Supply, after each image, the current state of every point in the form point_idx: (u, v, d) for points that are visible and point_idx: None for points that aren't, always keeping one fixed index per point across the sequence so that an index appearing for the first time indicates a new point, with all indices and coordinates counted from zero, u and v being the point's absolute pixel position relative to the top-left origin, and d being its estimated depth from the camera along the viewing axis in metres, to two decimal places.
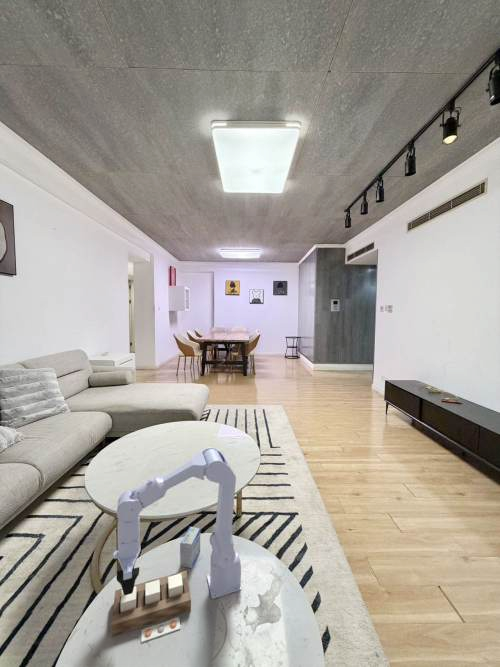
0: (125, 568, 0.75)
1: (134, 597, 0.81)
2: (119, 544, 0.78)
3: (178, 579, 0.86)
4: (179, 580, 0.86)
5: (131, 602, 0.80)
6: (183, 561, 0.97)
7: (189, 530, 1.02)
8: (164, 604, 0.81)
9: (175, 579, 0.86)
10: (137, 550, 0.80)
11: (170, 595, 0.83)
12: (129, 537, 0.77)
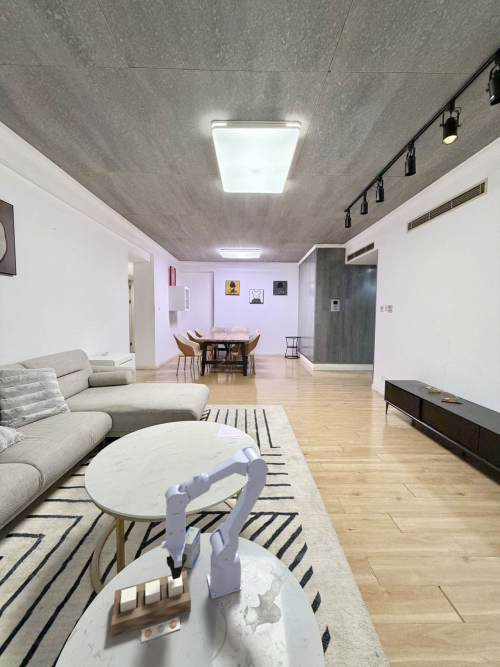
0: (175, 557, 0.80)
1: (134, 597, 0.81)
2: (168, 534, 0.82)
3: (178, 579, 0.86)
4: (179, 580, 0.86)
5: (131, 602, 0.80)
6: None
7: (189, 530, 1.02)
8: (164, 604, 0.81)
9: (175, 579, 0.86)
10: (184, 540, 0.84)
11: (170, 595, 0.83)
12: (177, 528, 0.82)
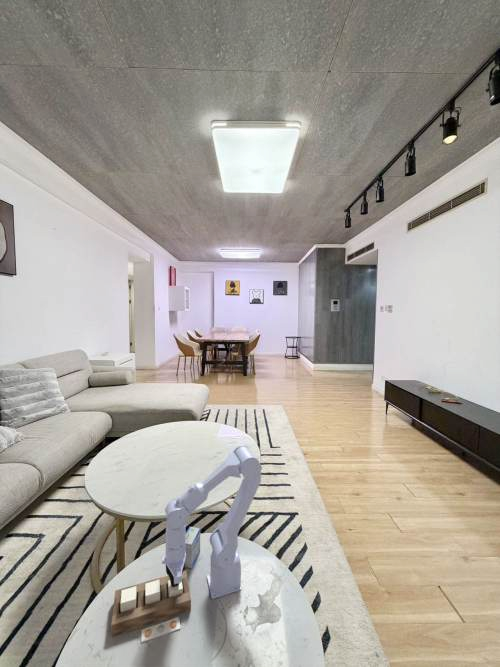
0: (175, 573, 0.80)
1: (134, 597, 0.81)
2: (167, 550, 0.83)
3: None
4: (179, 583, 0.86)
5: (131, 602, 0.80)
6: None
7: (189, 530, 1.02)
8: (164, 604, 0.81)
9: None
10: (183, 556, 0.84)
11: None
12: (177, 543, 0.82)
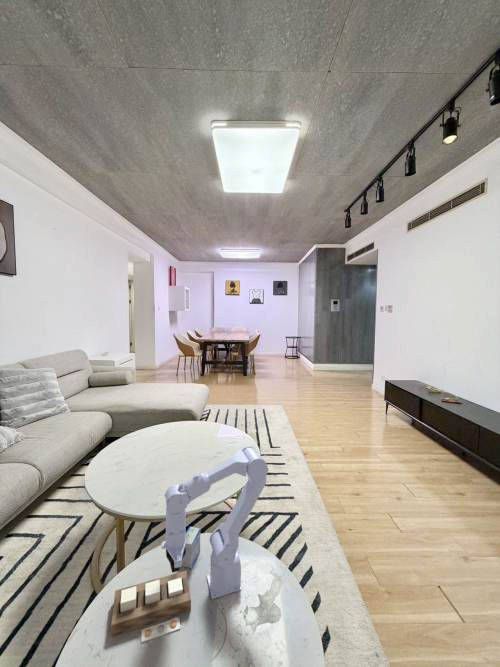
0: (175, 557, 0.80)
1: (134, 597, 0.81)
2: (168, 535, 0.82)
3: (178, 583, 0.86)
4: (179, 584, 0.86)
5: (131, 602, 0.80)
6: (183, 561, 0.97)
7: (189, 530, 1.02)
8: (164, 604, 0.81)
9: (175, 583, 0.86)
10: (184, 541, 0.84)
11: None
12: (177, 528, 0.82)
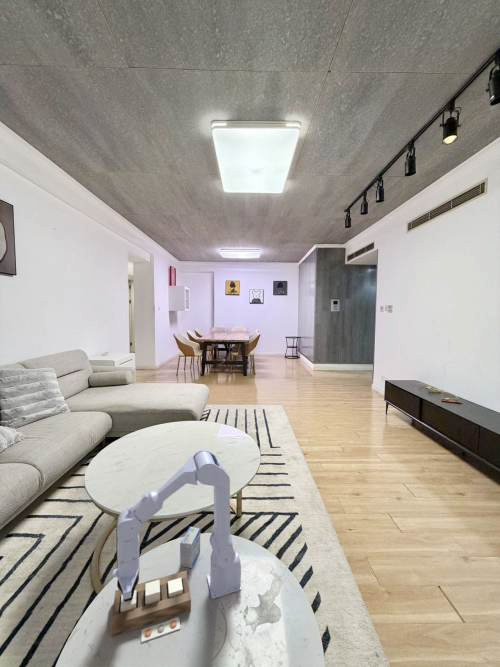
0: (124, 587, 0.76)
1: (134, 601, 0.81)
2: (119, 563, 0.78)
3: (178, 583, 0.86)
4: (179, 584, 0.86)
5: (131, 606, 0.80)
6: (183, 561, 0.97)
7: (189, 530, 1.02)
8: (164, 604, 0.81)
9: (175, 583, 0.86)
10: (136, 568, 0.80)
11: None
12: (129, 556, 0.78)
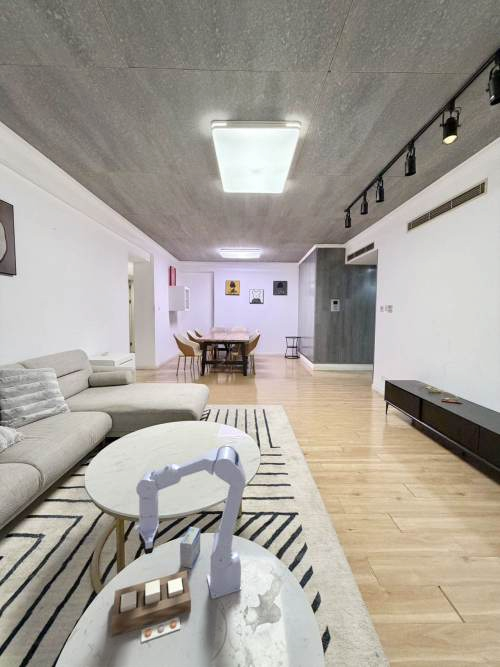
0: (146, 539, 0.85)
1: (134, 601, 0.81)
2: (140, 518, 0.87)
3: (178, 583, 0.86)
4: (179, 584, 0.86)
5: (131, 607, 0.80)
6: (183, 561, 0.97)
7: (189, 530, 1.02)
8: (164, 604, 0.81)
9: (175, 583, 0.86)
10: (156, 524, 0.89)
11: None
12: (146, 512, 0.86)
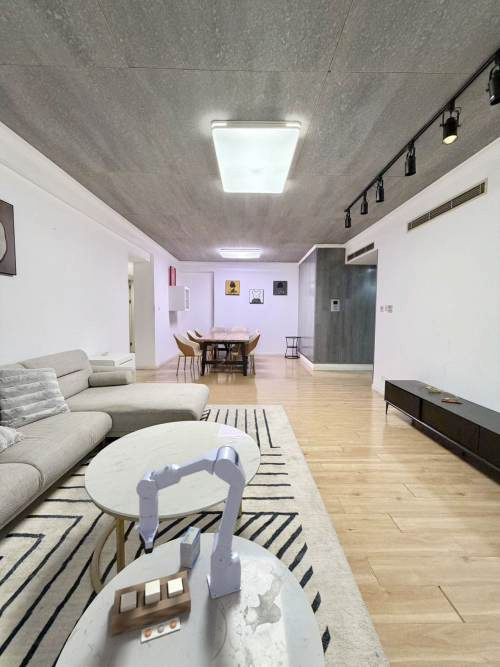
0: (146, 539, 0.85)
1: (134, 601, 0.81)
2: (140, 518, 0.87)
3: (178, 583, 0.86)
4: (179, 584, 0.86)
5: (131, 607, 0.80)
6: (183, 561, 0.97)
7: (189, 530, 1.02)
8: (164, 604, 0.81)
9: (175, 583, 0.86)
10: (156, 524, 0.89)
11: None
12: (146, 512, 0.86)
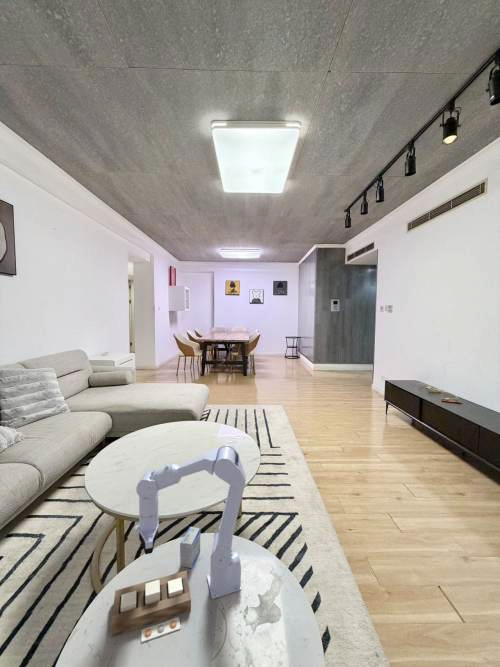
0: (146, 539, 0.85)
1: (134, 601, 0.81)
2: (140, 518, 0.87)
3: (178, 583, 0.86)
4: (179, 584, 0.86)
5: (131, 607, 0.80)
6: (183, 561, 0.97)
7: (189, 530, 1.02)
8: (164, 604, 0.81)
9: (175, 583, 0.86)
10: (156, 524, 0.89)
11: None
12: (146, 512, 0.86)
